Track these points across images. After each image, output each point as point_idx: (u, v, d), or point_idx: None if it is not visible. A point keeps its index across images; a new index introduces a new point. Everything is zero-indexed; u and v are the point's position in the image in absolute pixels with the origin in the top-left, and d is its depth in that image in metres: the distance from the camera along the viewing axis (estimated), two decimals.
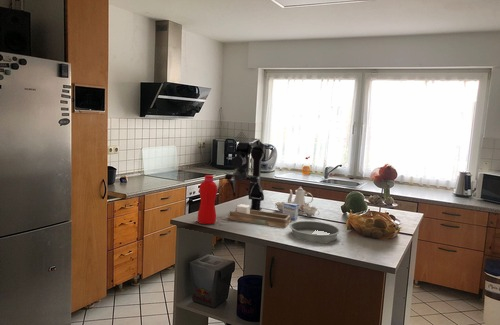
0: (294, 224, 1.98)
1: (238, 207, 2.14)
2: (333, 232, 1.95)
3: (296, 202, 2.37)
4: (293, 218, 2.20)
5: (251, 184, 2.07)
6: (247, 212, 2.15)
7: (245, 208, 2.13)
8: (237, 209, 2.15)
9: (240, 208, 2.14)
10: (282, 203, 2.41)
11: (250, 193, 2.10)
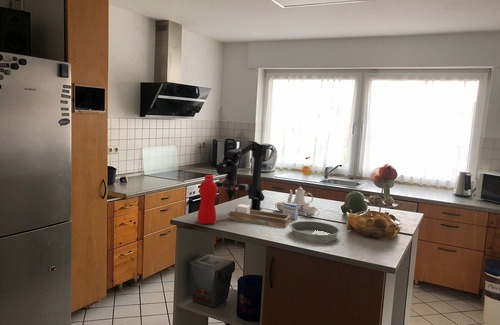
0: (294, 224, 1.98)
1: (238, 207, 2.14)
2: (333, 232, 1.95)
3: (296, 202, 2.37)
4: (293, 218, 2.20)
5: (232, 191, 2.16)
6: (247, 212, 2.15)
7: (245, 208, 2.13)
8: (237, 209, 2.15)
9: (240, 208, 2.14)
10: (282, 203, 2.41)
11: (231, 199, 2.19)
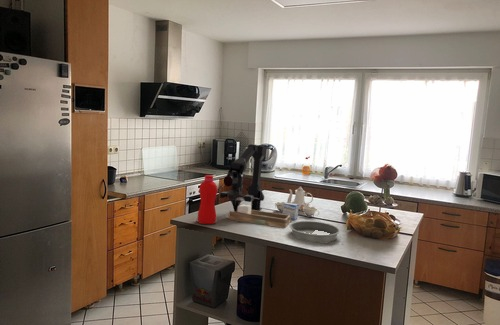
0: (294, 224, 1.98)
1: (239, 207, 2.14)
2: (333, 232, 1.95)
3: (296, 202, 2.37)
4: (293, 218, 2.20)
5: (237, 202, 2.15)
6: (248, 212, 2.14)
7: (246, 208, 2.13)
8: (238, 209, 2.14)
9: (241, 208, 2.14)
10: (282, 203, 2.41)
11: (236, 210, 2.18)
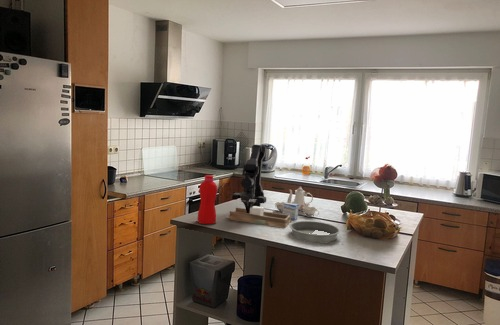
0: (294, 224, 1.98)
1: (252, 209, 2.12)
2: (333, 232, 1.95)
3: (296, 202, 2.37)
4: (293, 218, 2.20)
5: (249, 203, 2.13)
6: (261, 214, 2.12)
7: (259, 210, 2.10)
8: (251, 211, 2.12)
9: (254, 210, 2.11)
10: (282, 203, 2.41)
11: (248, 212, 2.16)
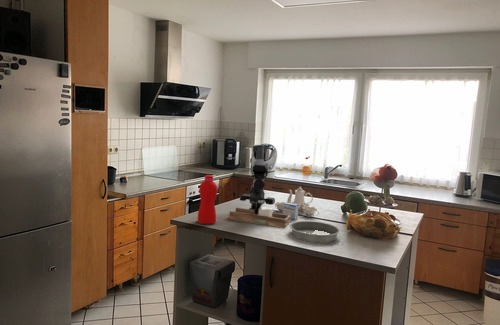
0: (294, 224, 1.98)
1: (260, 210, 2.10)
2: (333, 232, 1.95)
3: (296, 202, 2.37)
4: (293, 218, 2.20)
5: (258, 204, 2.11)
6: (269, 215, 2.11)
7: (268, 211, 2.09)
8: (259, 212, 2.10)
9: (262, 211, 2.10)
10: (282, 203, 2.41)
11: None
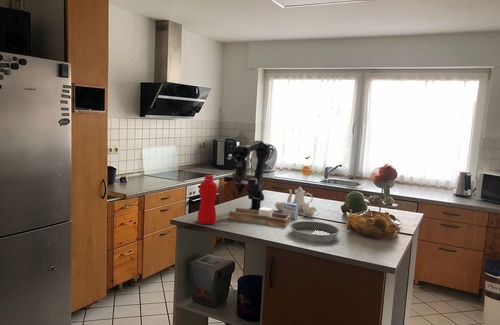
0: (294, 224, 1.98)
1: (260, 210, 2.10)
2: (333, 232, 1.95)
3: (295, 202, 2.36)
4: (293, 218, 2.20)
5: (242, 185, 2.19)
6: (270, 215, 2.11)
7: (268, 211, 2.09)
8: (259, 212, 2.10)
9: (262, 211, 2.10)
10: (282, 203, 2.41)
11: None
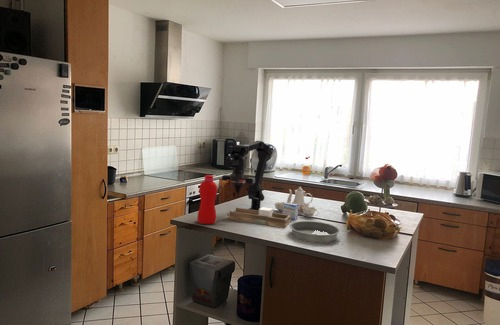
0: (294, 224, 1.98)
1: (260, 210, 2.10)
2: (333, 232, 1.95)
3: (295, 202, 2.36)
4: (293, 218, 2.20)
5: (239, 184, 2.20)
6: (270, 215, 2.11)
7: (268, 211, 2.09)
8: (259, 212, 2.10)
9: (262, 211, 2.10)
10: (281, 203, 2.41)
11: (238, 192, 2.23)
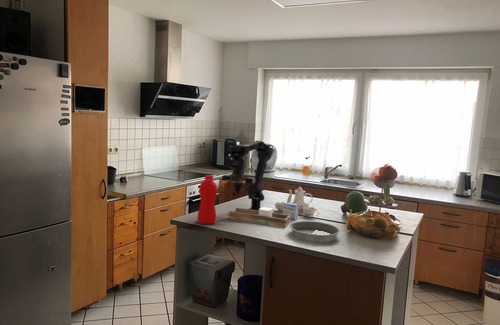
0: (294, 224, 1.98)
1: (260, 210, 2.10)
2: (333, 232, 1.95)
3: (295, 202, 2.36)
4: (293, 218, 2.20)
5: (239, 184, 2.20)
6: (270, 215, 2.11)
7: (268, 211, 2.09)
8: (259, 212, 2.10)
9: (262, 211, 2.10)
10: (281, 203, 2.41)
11: (238, 192, 2.23)
